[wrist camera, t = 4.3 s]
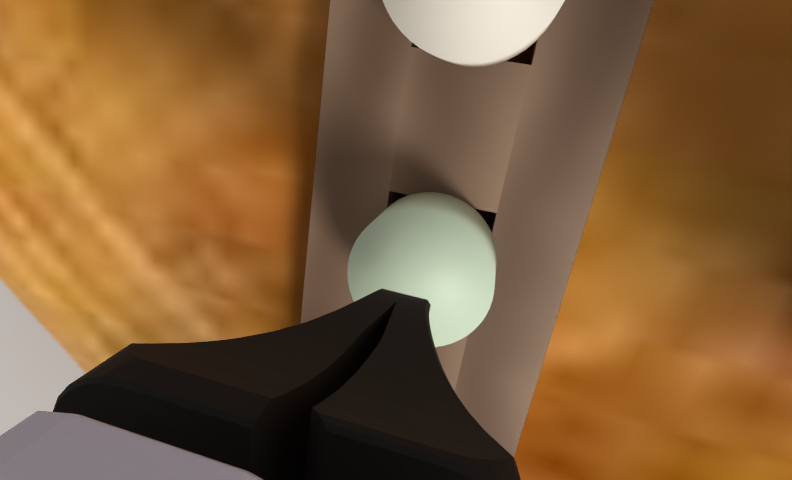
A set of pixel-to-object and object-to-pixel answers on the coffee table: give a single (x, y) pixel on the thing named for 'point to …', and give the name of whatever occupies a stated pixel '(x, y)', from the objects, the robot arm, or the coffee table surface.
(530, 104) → the console
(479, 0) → the button cream
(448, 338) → the button sage
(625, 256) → the coffee table surface
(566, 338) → the coffee table surface
